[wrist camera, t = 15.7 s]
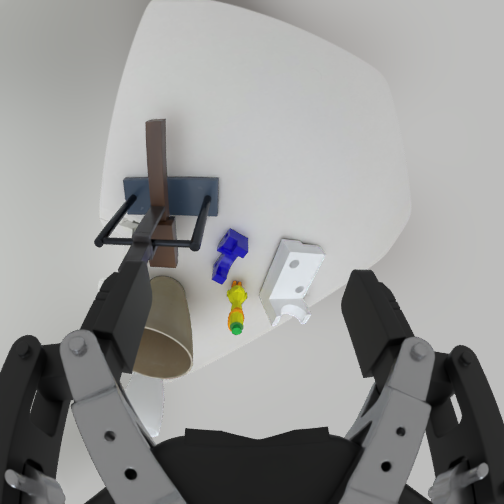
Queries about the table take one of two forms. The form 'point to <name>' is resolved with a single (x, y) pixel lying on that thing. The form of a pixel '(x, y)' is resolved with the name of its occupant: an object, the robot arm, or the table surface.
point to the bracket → (290, 280)
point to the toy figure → (236, 307)
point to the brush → (155, 206)
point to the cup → (147, 401)
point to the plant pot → (166, 333)
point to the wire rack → (180, 203)
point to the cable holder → (229, 254)
